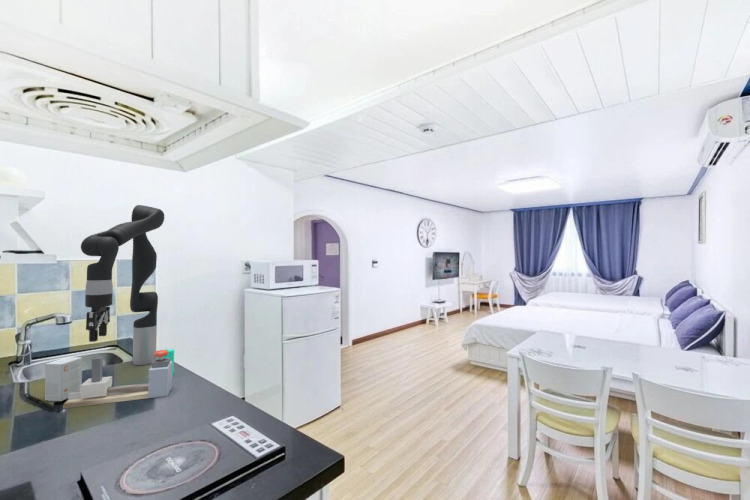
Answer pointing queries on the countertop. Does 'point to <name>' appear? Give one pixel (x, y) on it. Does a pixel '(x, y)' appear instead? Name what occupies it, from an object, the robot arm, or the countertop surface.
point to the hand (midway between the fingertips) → (98, 338)
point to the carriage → (96, 381)
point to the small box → (62, 378)
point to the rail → (109, 396)
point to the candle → (171, 356)
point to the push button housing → (160, 378)
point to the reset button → (161, 354)
